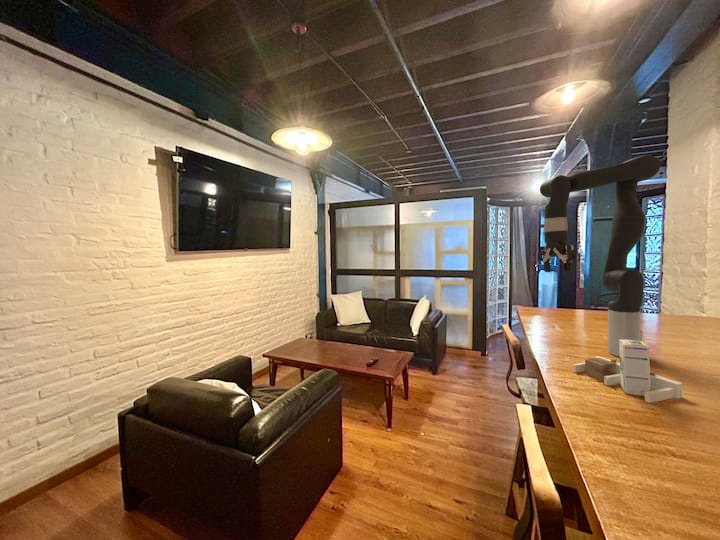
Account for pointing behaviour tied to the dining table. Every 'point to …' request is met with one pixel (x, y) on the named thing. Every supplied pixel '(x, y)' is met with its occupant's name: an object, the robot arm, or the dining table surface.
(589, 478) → the dining table surface
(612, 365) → the walnut block
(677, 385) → the notch rail
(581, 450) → the dining table surface
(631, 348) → the syrup box
